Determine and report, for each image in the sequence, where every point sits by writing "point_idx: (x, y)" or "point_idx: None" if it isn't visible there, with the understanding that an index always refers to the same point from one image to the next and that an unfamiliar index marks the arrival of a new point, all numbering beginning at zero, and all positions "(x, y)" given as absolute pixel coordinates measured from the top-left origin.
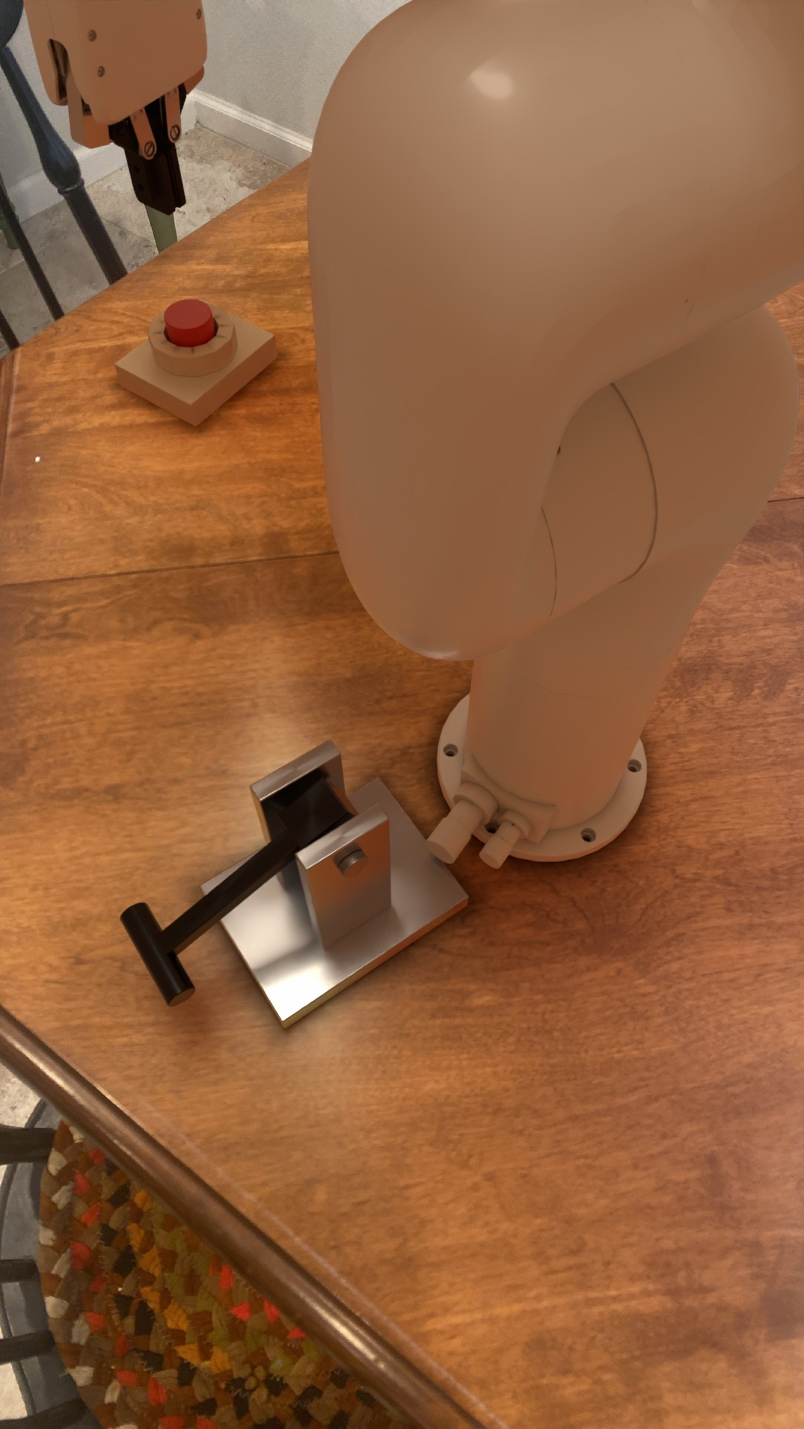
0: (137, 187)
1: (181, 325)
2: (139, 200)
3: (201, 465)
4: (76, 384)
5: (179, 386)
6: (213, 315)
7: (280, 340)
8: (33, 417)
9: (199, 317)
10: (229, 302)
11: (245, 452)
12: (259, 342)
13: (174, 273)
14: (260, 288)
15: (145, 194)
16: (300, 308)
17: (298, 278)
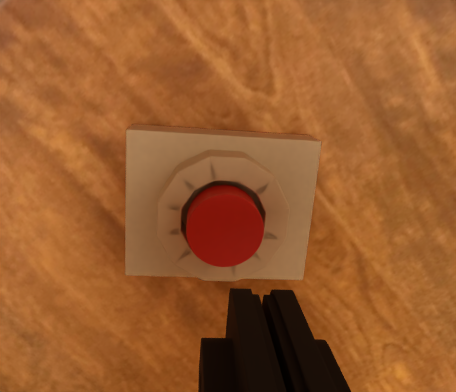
0: (201, 367)
1: (195, 242)
2: (229, 295)
3: (83, 302)
4: (96, 61)
5: (144, 241)
6: (267, 229)
7: (325, 246)
8: (2, 54)
9: (227, 253)
10: (363, 139)
11: (132, 328)
12: (278, 273)
13: (387, 17)
14: (409, 158)
15: (199, 384)
16: (394, 229)
17: (451, 189)
